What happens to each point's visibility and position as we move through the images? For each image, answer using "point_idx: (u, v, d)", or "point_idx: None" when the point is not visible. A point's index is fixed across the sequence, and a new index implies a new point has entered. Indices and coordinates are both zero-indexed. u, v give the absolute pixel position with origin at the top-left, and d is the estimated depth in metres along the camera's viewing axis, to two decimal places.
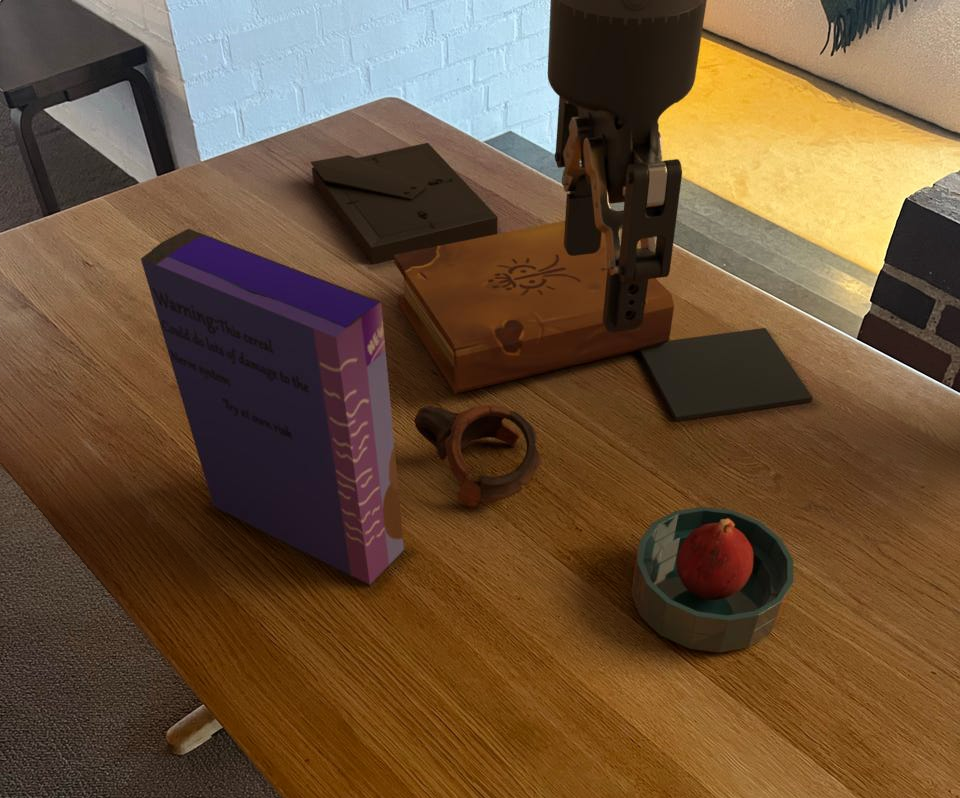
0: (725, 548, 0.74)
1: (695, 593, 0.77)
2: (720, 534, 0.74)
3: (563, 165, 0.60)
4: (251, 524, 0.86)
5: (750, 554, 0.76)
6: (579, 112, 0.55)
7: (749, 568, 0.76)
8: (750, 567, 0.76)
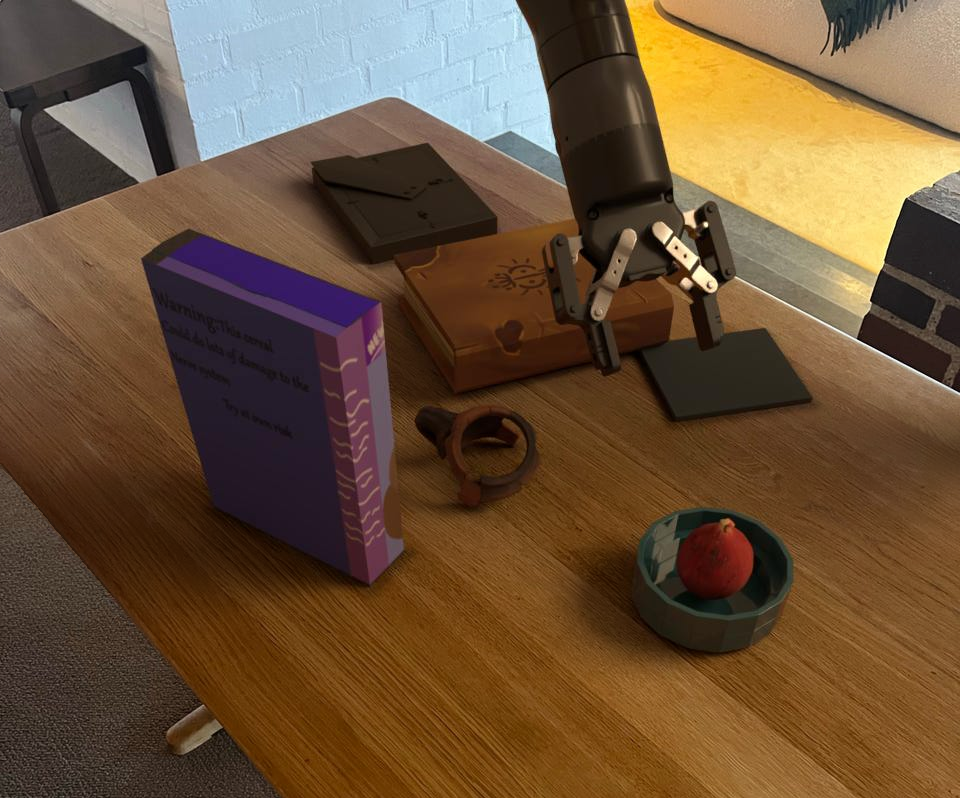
0: (725, 548, 0.74)
1: (695, 593, 0.77)
2: (720, 534, 0.74)
3: None
4: (251, 524, 0.86)
5: (750, 554, 0.76)
6: None
7: (749, 568, 0.76)
8: (750, 567, 0.76)
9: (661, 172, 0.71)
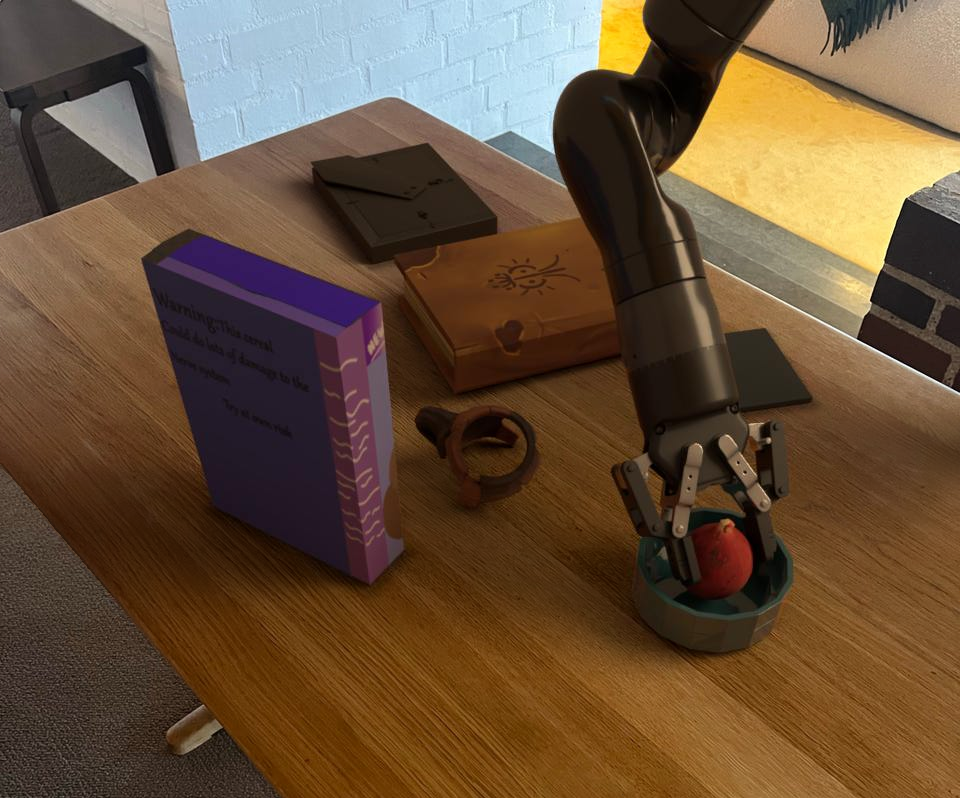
0: (725, 548, 0.74)
1: (695, 593, 0.77)
2: (720, 534, 0.74)
3: None
4: (251, 524, 0.86)
5: (750, 554, 0.76)
6: None
7: (749, 568, 0.76)
8: (750, 567, 0.76)
9: (728, 391, 0.71)
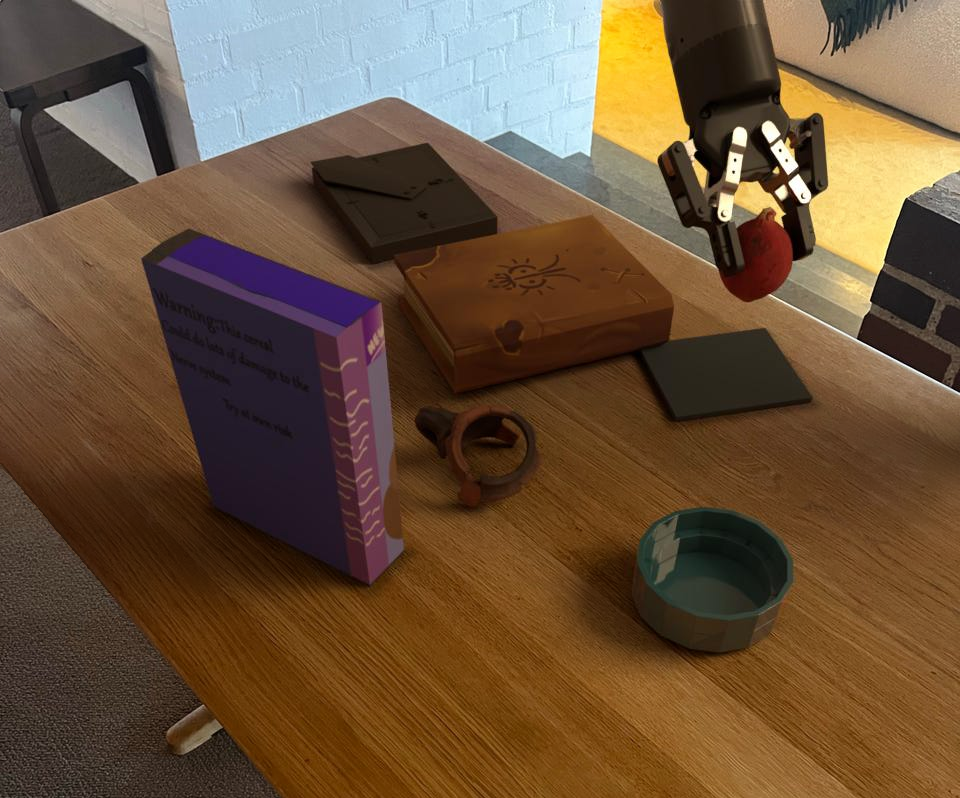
0: (767, 235, 0.77)
1: (737, 290, 0.80)
2: (763, 222, 0.77)
3: None
4: (251, 524, 0.86)
5: (790, 246, 0.79)
6: None
7: (789, 260, 0.79)
8: (790, 260, 0.79)
9: (772, 72, 0.74)
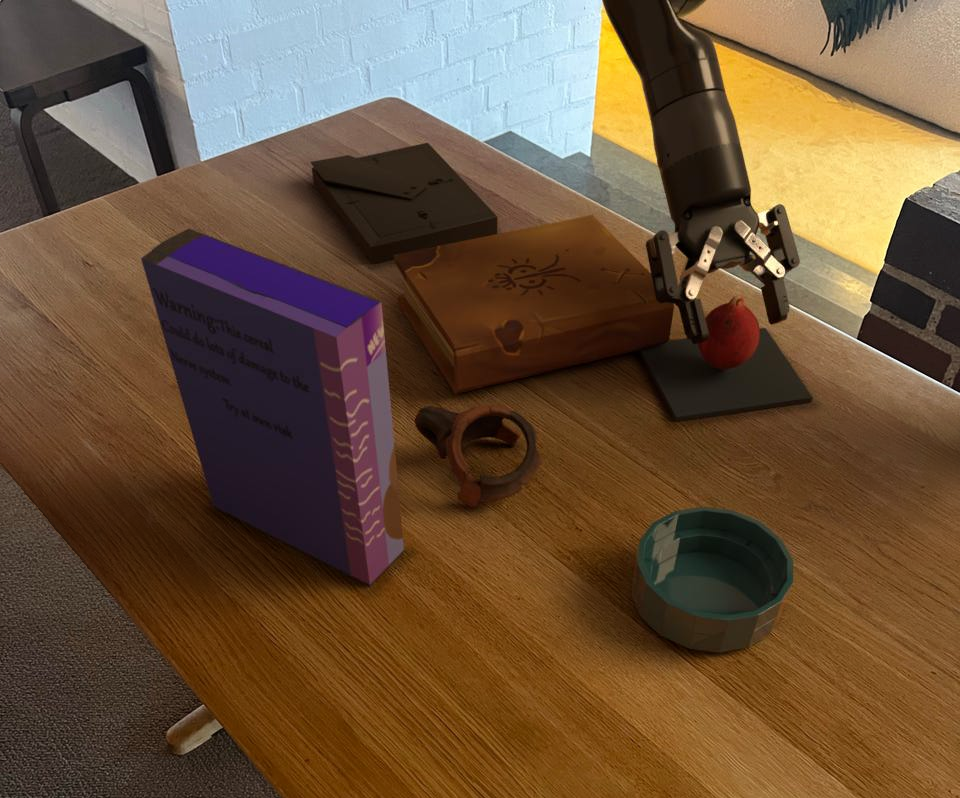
0: (737, 318, 0.93)
1: (712, 361, 0.96)
2: (733, 307, 0.93)
3: None
4: (251, 524, 0.86)
5: (757, 326, 0.95)
6: None
7: (756, 338, 0.95)
8: (757, 337, 0.95)
9: (743, 182, 0.90)
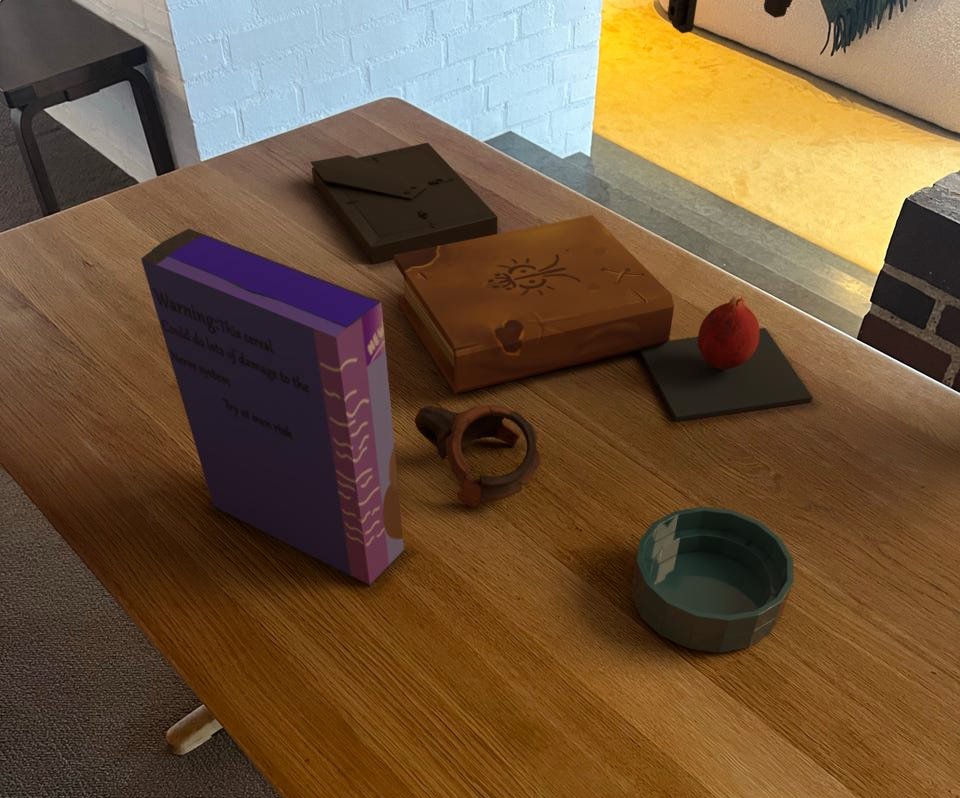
0: (737, 318, 0.93)
1: (712, 361, 0.96)
2: (733, 307, 0.93)
3: None
4: (251, 524, 0.86)
5: (757, 326, 0.95)
6: None
7: (756, 338, 0.95)
8: (757, 337, 0.95)
9: None
